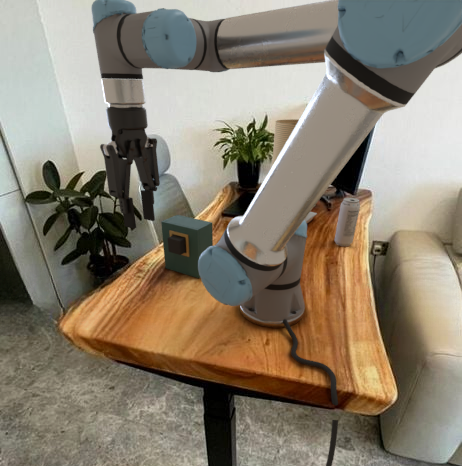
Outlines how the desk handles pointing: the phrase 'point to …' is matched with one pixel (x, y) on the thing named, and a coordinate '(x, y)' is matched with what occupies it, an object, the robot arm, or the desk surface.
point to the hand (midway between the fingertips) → (140, 223)
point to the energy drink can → (347, 221)
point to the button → (177, 244)
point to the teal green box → (196, 243)
